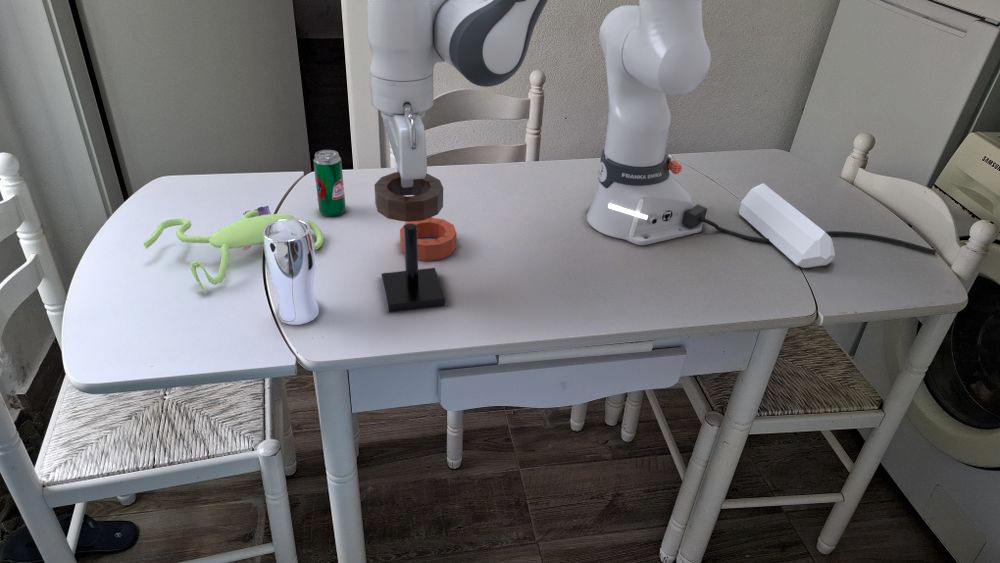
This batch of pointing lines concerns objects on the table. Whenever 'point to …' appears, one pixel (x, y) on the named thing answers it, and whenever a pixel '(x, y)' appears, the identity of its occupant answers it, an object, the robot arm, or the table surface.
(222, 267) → the pale green curved piece
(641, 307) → the table surface
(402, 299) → the peg stand
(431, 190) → the walnut ring
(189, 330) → the table surface
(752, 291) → the table surface
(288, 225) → the chrome cup
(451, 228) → the terracotta ring
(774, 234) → the crystal
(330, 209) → the soda can
